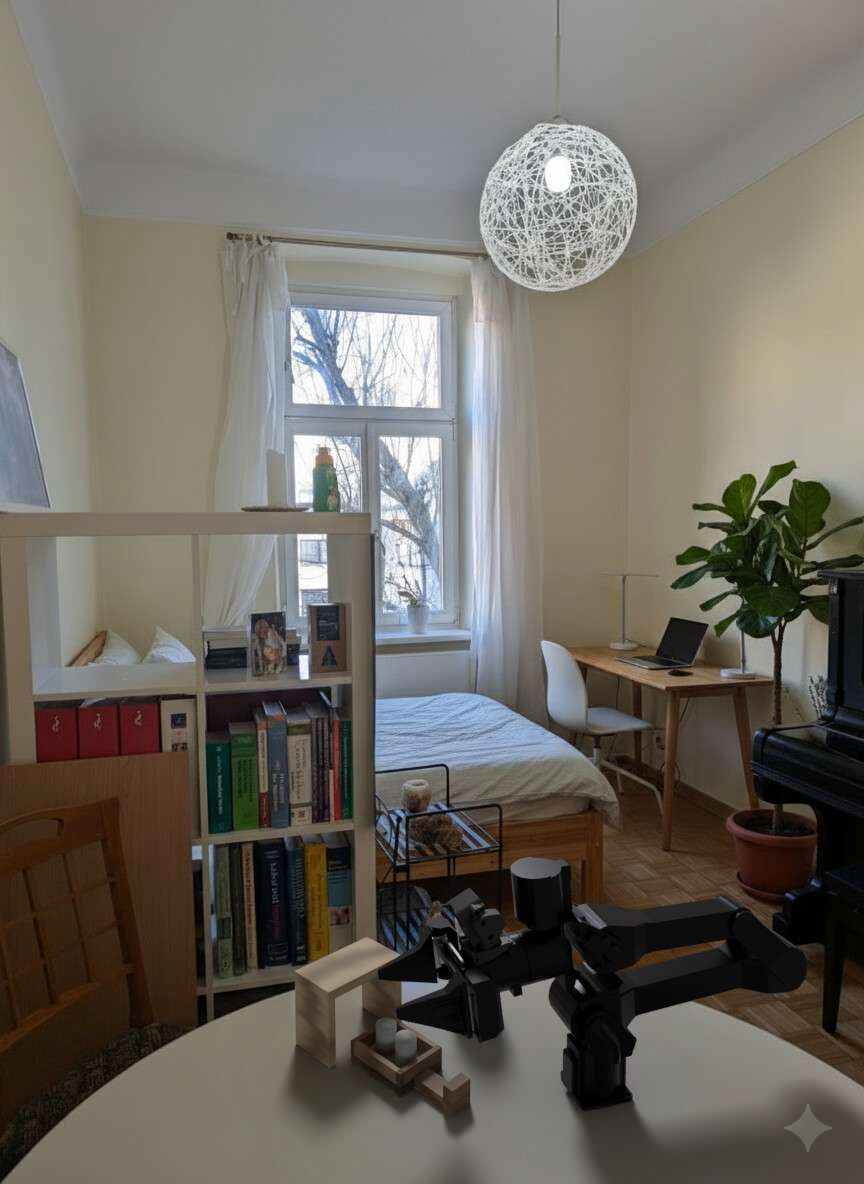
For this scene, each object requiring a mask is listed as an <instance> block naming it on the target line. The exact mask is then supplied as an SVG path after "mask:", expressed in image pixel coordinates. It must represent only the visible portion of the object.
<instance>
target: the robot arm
mask: <svg viewBox="0 0 864 1184" xmlns="http://www.w3.org/2000/svg"><path fill="white" fill-rule="evenodd" d="M510 876H511V877H510V878H511V888H512V897H513V899H512V901H513V910H514V916H515V919H516V920H517V921H518V922H519V923H521V924H524V926H525V927H526V928H522V929H518V930H514V931H510V932H506V931H505V930H504V929H505V928H506V926H507V924H506V922H505V919H504V918H503V916H502V913H500V912H499V911H498V910H497V909H496V908H488V909H487V907H486V905H485V903H483V901H482V900H481V899H480V897H479V896H478V895H477V893H475V892H474V891H473V890H472V888H470V887H468V888H466V889H464V891H462V892H461V893H459V894H457V895H456V896H454V897H453V898H451V899H449V900H448V901H446V907H448V910H449V911H450V912H452V913H453V915H454V919H455V918H456V920H457V922H458V924H459V925H460V927H461V929H462V931H463V932H462V933H458V935H457V931H456V928H454V927H455V926H453V925H452V923H451V922H450V921H449V920H447V919H446V918H444V917H443V916H441V915H440V916H436V917H431V918H428V919H426V921H425V923H426V925H424V926H423V927H422V930H421V931H422V933H421V935H420V937H419V939H418V941H417V943H416V944H415V945H413V946H412V947H411V948H409V949H408V950H406V951H405V952H403V953H402V954H400V956H398V957H397V958H395V959H393V960H392V961H390V962H389V963H387V964H385V965H384V966H382V967H381V968H379V969H378V971H377V973H378V978H379V980H385V981H399V982H401V983H425V984H438V983H439V980H443V981H447V983H446V985H445V986H444V987H443V988H440V989H438V990H435V991H432V992H430V993H427V994H424V995H423V996H422V995H421V996H419V997H417V998H415V999H411V1000H409V1001H407V1002H404V1003H402V1005H400V1006H398V1007H396V1009H395V1011H396V1017H397V1019H399V1020H402V1022H403V1021H404V1022H408V1023H413V1024H418V1025H421V1026H427V1027H431V1028H435V1029H439V1030H442V1031H446V1032H451V1033H453V1034H456V1035H460V1036H462V1037H463V1036H464V1037H466V1038H467V1040H472V1039H474V1037H475V1039H476V1040H477V1042H478V1043H479V1045H484V1044H487V1043H491V1042H495V1041H497V1040H499V1038H500V1036H501V1035H502V1032H503V1031H504V1030H505V1023H504V1015H503V1007H502V1006H503V1005H502V998H501V993H504V992H508V991H509V992H510V993H511V995H512V996H513V998H517V997H519V996H523V994H524V993H523V987H526V986H528V985H533V984H536V983H539V982H543V981H544V982H545V981H548V980H551V979H553V981H551V984H550V987H549V989H548V1001H549V1005H550V1006H551V1008H552V1009H553V1011H554V1012H555V1014H556V1015H557V1017H559V1019H560V1020H561V1022H562V1023H563V1024H564V1027H566V1029H568V1031H569V1032H568V1033H566V1047H565V1048H563V1049H562V1069H561V1070H560V1077H561V1079H562V1082H563V1084H564V1085H565V1087H566V1088H567V1090H568V1092H569V1093H570V1095H572V1096H573V1097H574V1099H575V1101H576V1102H577V1104H578V1106H579V1107H580V1108H581V1109H582V1110H583V1111H588V1110H594V1109H598V1108H603V1107H608V1106H611V1105H618V1104H621V1103H625V1102H626V1103H627V1102H631V1101H633V1099H634V1098H633V1097H634V1095H633V1093H632V1092H631V1090H630V1089H629V1087H628V1086H627V1058H629V1057H632V1055H633V1053H634V1050H635V1047H636V1044H637V1040H638V1039H637V1037H636V1036H635V1035H634V1034H633V1032H631V1030H630V1029H629V1028H628V1027H629V1025H630V1024H631V1023H632V1022H633V1020H634V1019H635V1018H637V1017H638V1016H641V1015H645V1014H648V1013H649V1014H650V1013H652V1012H655V1011H659V1010H664V1009H667V1008H670V1007H675V1006H679V1005H682V1004H686V1003H690V1002H693V1001H696V1000H701V999H702V1000H703V999H706V998H709V997H712V996H717V995H720V994H724V993H727V992H733V991H736V990H744V991H749V992H754V993H758V994H759V993H760V994H764V995H778V994H789V993H792V992H795V991H797V990H798V989H799V988H800V987H801V986H802V984H803V983H804V982H805V979H806V978H807V972H808V971H807V969H808V968H807V967H808V960H807V957H806V955H805V953H804V951H802V949H800V948H799V947H798V946H796V945H795V944H793V943H792V942H790V941H789V940H788V939H786V938H785V937H783V936H782V935H780V934H779V933H777V932H776V931H774V930H773V929H772V928H770V927H768V926H767V925H765V924H764V923H762V921H760V920H759V919H758V918H757V917H756V916H755V914H754V913H753V911H752V910H751V909H750V908H748V907H747V906H745V905H744V904H742V903H741V902H739V901H738V900H736V899H735V898H733V897H732V896H730V895H726V894H718V895H716V896H714V897H713V898H709V899H702V900H695V901H694V900H693V901H688V902H687V901H686V902H681V903H674V904H666V905H661V906H659V905H658V906H654V907H647V908H646V907H645V908H640V909H635V908H634V909H632V908H626V907H622V906H618V905H615V904H610V903H589V902H586V903H583V904H578V903H575V902H574V901H573V898H572V896H573V895H572V888H571V881H572V867H571V865H570V864H569V863H567V862H566V861H565V859H563V858H560V859H557V860H553V859H550V858H545V857H533V856H526V857H522V858H519V859H518V860H515V862H513V863H512V864H511V866H510ZM458 937H459V943H458ZM721 941H724V942H723V943H722V945H721V946H719V947H716V948H711V949H708V950H707V949H706V950H703V951H700V952H699V951H698V952H695V953H692V954H687V955H683V956H679V957H675V958H671V959H667V960H663V961H659V962H658V961H657V962H655V963H651V964H647V965H642V966H639V967H635V968H630V967H633V966H635V965H636V964H637V963H639V961H641V960H642V958H643V957H644V956H646V955H648V954H651V953H654V952H660V951H665V950H672V949H673V950H674V949H677V948H685V947H691V946H697V945H698V946H699V945H703V944H708V943H709V944H711V943H715V942H721ZM459 944H460V945H461V949H460V950H459ZM573 951H574V952H575V953H576V954H577V955H578V956H579V957H580V959H582V960H583V962H582V961H581V962H575V961H574V955H573ZM628 968H630V969H628ZM625 969H627V970H625ZM438 979H439V980H438ZM450 979H451V980H450ZM448 980H450V981H449V982H448Z"/></svg>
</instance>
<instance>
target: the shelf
mask: <svg viewBox="0 0 864 1184" xmlns="http://www.w3.org/2000/svg"><path fill="white" fill-rule="evenodd" d="M400 955H401V954H400V953H398V952H396V951H394V950H392V949H390V948H389V947H387V946H385V945H383V944H381V943H379V942H377V941H376V940H374V939H372V938H370V937H368V936H366V937H363V938H361V939H359V940H357V941H355V942H353V943H351V944H349V945H347V946H344V947H343V948H340V949H338V950H336V951H335V952H332V953H330V954H327V955H326V956H324V957H322V958H319V959H317V960H315V961H313V962H310V963H309V964H306V965H304V966H302V967H300V968H298V969H296V970H294V997H295V999H294V1003H295V1004H294V1005H295V1007H294V1008H295V1010H294V1011H295V1015H294V1016H295V1043H296V1045H298V1047H300V1048H302V1049H303V1050H304V1051H306V1052H307V1053H308V1054H310V1055H311V1056H312V1057H314V1058H315V1059H316V1060H317V1061H319V1062H321V1063H322V1064H323V1065H324V1066H326V1067H327V1068H328V1069H331V1068H333V1067H334V1066H336V1064H337V1045H336V1041H337V1040H336V1034H337V1033H336V1032H337V1031H336V999H337V998H339V997H341V996H343V995H345V994H347V993H348V992H350V991H352V990H354V989H357V988H358V987H361V1002H362V1003H361V1006H362V1008H364V1009H365V1010H366V1011H368V1012H369V1013H371V1014H373V1015H375V1016H376V1017H378V1018H379V1019H381V1018H384V1017H389V1018H390V1017H392V1016H393V1017H394V1018H396V1019H397V1017H396V1011H395V1009H396V1007H398V1006H400V1005H402V1004H403V1002H402V1001H403V998H402V994H403V993H402V990H403V989H402V983H403V982H399V981H385V980H379V978H378V973H377V971H378V969H379V968H381V967H382V966H384V965H385V964H387V963H389V962H390V961H392V960H393V959H395V958H397V957H398V956H400ZM397 1020H399V1019H397ZM399 1021H401V1022H402V1023H403V1020H399Z"/></svg>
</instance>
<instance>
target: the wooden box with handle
mask: <svg viewBox="0 0 864 1184" xmlns="http://www.w3.org/2000/svg"><path fill="white" fill-rule="evenodd" d="M350 1062H351V1063H352V1064H354V1066H356V1067H357V1068H359V1069H360V1070H361V1071H363V1072H364V1073H365V1074H367V1075H368V1076H369V1077H371V1078H373V1080H375V1081H377V1082H378V1083H379V1084H381V1085H382V1086H384V1087H385V1088H386V1089H388V1090H390V1091H391V1092H392V1093H393V1094H395V1095H396V1096H397V1097H399V1098H401V1097H403V1096H404V1095H406V1094H407V1093H409V1092H410V1091H412V1090H413V1089H416V1090H417V1091H419V1092H420V1093H422V1094H423V1095H424V1096H426V1097H427V1098H428V1099H430V1100H432V1101H433V1102H434V1103H436V1104H437V1105H438V1106H440V1107H442V1111H444V1112H445V1113H447V1114H448V1115H450V1116H451V1117H454V1116H456V1115H457V1114H458V1113H459V1112H461V1111H462V1110H464V1109H465V1108H466V1107H468V1105H470V1104H471V1078H470V1077H469V1076H468V1075H465V1074H464V1073H463V1072H459V1073H458V1074H456V1075H455V1076H454V1077H452V1078H451V1079H449V1080H447V1079H446V1078H444V1077H442V1076H441V1075H439V1074H438V1072H439V1071H442V1069H443V1047H442V1046H441V1045H440V1044H438V1043H436V1042H435V1041H433V1040H431V1039H430V1038H428V1037H426V1036H424V1034H422V1033H420V1032H418V1031H417V1030H415V1029H413V1028H412V1027H411V1026H409V1025H407V1024H405V1023H404V1022H403V1021H402V1022H401V1021H399V1020H397V1019H396V1018H394V1017H393V1016H392V1017H390V1018H389V1017H384V1018H379V1019H377V1020H376V1022H375V1026H372V1027H371V1028H370V1029H369V1030H366V1031H365V1032H363V1033H361V1034H359V1035H358V1036H356V1037H354V1038H352V1039H350Z"/></svg>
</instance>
